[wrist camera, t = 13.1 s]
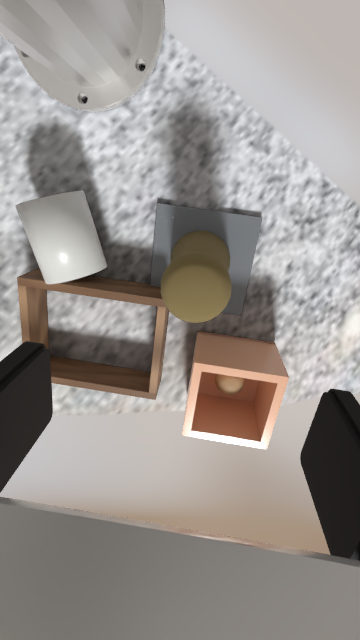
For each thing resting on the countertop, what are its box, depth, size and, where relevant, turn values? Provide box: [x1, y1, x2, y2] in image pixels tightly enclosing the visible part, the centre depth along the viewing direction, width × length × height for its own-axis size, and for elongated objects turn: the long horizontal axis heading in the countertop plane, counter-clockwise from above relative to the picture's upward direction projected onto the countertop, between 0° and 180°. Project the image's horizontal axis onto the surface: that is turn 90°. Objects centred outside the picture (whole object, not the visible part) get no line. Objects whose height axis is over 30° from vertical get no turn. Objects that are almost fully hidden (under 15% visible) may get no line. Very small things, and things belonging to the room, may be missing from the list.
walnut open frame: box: [17, 268, 169, 400], centre depth 34 cm, size 12×15×4 cm
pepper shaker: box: [161, 231, 232, 323], centre depth 27 cm, size 6×6×11 cm
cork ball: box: [215, 374, 245, 395], centre depth 34 cm, size 3×3×3 cm
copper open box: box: [182, 331, 289, 449], centre depth 33 cm, size 9×9×7 cm
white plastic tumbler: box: [16, 191, 107, 284], centre depth 29 cm, size 7×6×6 cm
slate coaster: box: [150, 203, 262, 315], centre depth 32 cm, size 10×10×1 cm
